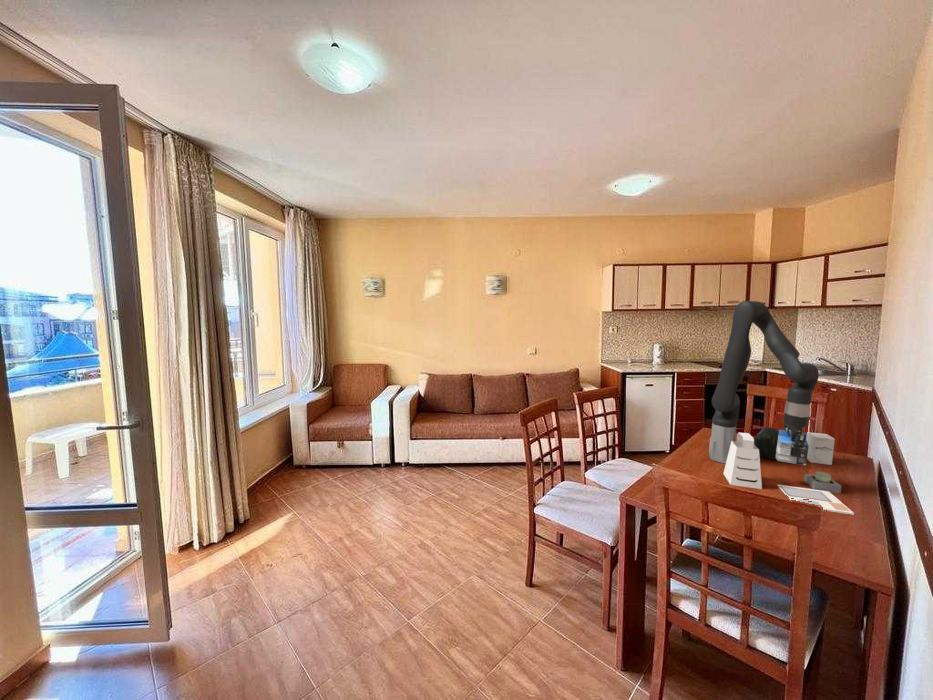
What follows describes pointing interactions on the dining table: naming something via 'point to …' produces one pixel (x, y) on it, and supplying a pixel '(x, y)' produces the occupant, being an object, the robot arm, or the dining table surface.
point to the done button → (822, 477)
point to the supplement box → (820, 448)
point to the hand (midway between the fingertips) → (791, 453)
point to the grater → (743, 462)
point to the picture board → (816, 498)
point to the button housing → (822, 484)
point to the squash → (767, 442)
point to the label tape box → (785, 449)
